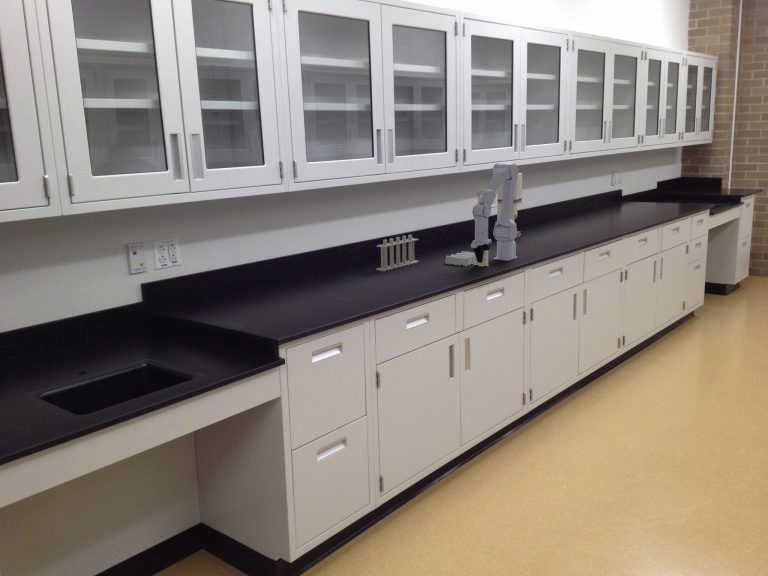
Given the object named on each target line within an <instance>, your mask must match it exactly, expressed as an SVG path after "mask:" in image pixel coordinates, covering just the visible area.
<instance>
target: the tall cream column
mask: <svg viewBox="0 0 768 576" xmlns="http://www.w3.org/2000/svg"><path fill="white" fill-rule="evenodd" d="M503 186H504V185H503V183H502V182H501V184H500V185H499V187H498V189H497V211H496V212H497V213H496V217H497V219H496V222H497V221H498V220H499V219H500V217H501V206H502V196H503ZM522 193H523V172H518V177H517V182H515V190H514V200H513V210H512V220H513V221H514V222H515V220H516V219H517V218H518V206H520V205H522V204H523V203H522V199H523V196H522ZM502 226H509V225H502ZM521 232H522V231H518V230H517V236H516V238H515V239H517V238H519V237H521V235H522V233H521Z"/></svg>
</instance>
